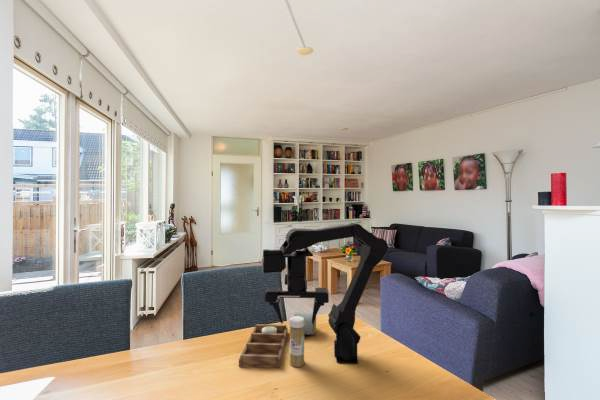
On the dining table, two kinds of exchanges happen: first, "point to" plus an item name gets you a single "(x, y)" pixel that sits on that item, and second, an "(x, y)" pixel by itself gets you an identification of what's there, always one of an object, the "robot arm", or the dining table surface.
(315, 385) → the dining table surface
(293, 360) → the sprinkles bottle
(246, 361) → the rack
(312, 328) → the ceramic mug
